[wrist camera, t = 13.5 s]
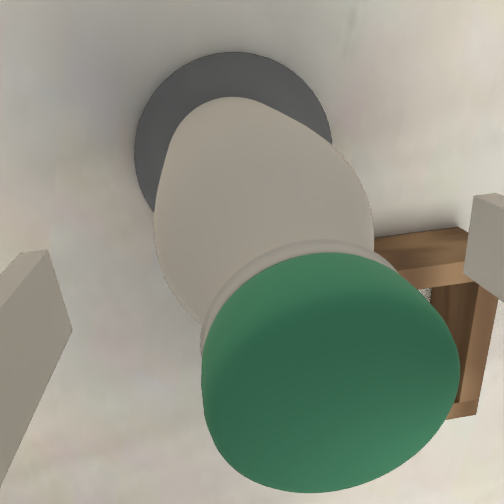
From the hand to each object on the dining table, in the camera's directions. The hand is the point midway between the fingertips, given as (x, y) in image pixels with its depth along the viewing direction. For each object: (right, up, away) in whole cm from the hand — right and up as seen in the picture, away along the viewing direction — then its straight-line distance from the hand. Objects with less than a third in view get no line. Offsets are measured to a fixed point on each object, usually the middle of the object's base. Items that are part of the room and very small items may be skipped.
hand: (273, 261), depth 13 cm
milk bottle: (-2, +6, +12) cm, 14 cm away
